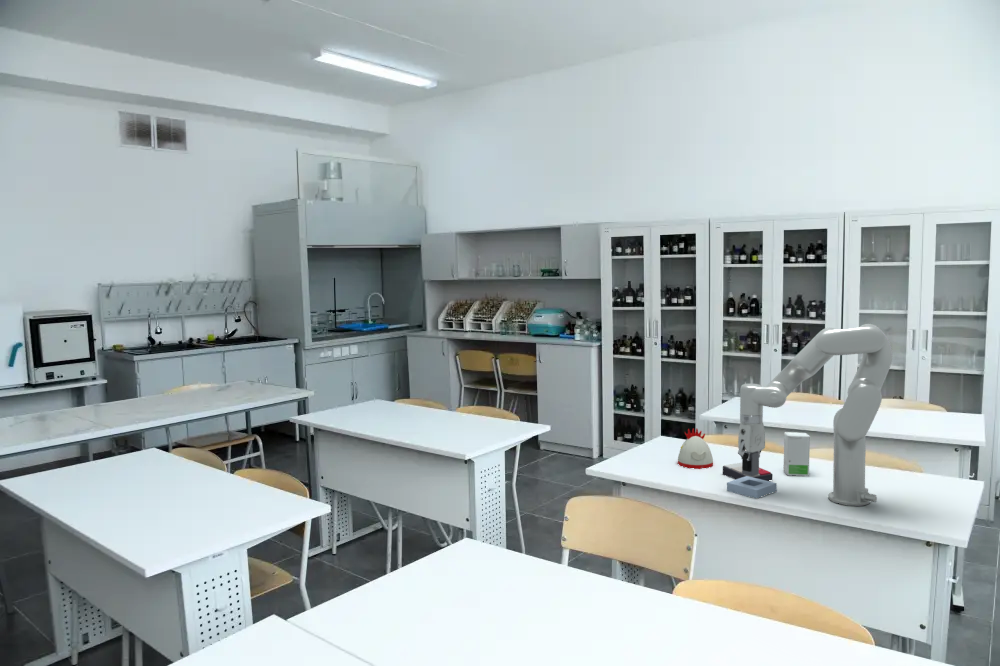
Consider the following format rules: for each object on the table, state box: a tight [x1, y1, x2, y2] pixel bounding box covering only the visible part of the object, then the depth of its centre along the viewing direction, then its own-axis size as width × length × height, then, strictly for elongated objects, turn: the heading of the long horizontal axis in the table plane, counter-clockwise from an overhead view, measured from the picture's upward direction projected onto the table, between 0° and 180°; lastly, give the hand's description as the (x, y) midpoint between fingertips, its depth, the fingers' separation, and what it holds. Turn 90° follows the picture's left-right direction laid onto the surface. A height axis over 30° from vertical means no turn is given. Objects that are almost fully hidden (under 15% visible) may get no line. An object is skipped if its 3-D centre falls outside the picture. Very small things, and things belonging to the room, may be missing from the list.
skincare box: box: [782, 431, 811, 477], centre depth 261 cm, size 8×7×16 cm
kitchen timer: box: [677, 428, 714, 470], centre depth 279 cm, size 14×14×15 cm
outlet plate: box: [726, 476, 778, 499], centre depth 243 cm, size 12×12×3 cm
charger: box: [742, 452, 760, 476], centre depth 242 cm, size 4×4×8 cm
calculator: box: [722, 462, 773, 482], centre depth 259 cm, size 11×4×15 cm
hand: (750, 469), depth 242 cm, fingers closed on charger, 4 cm apart
